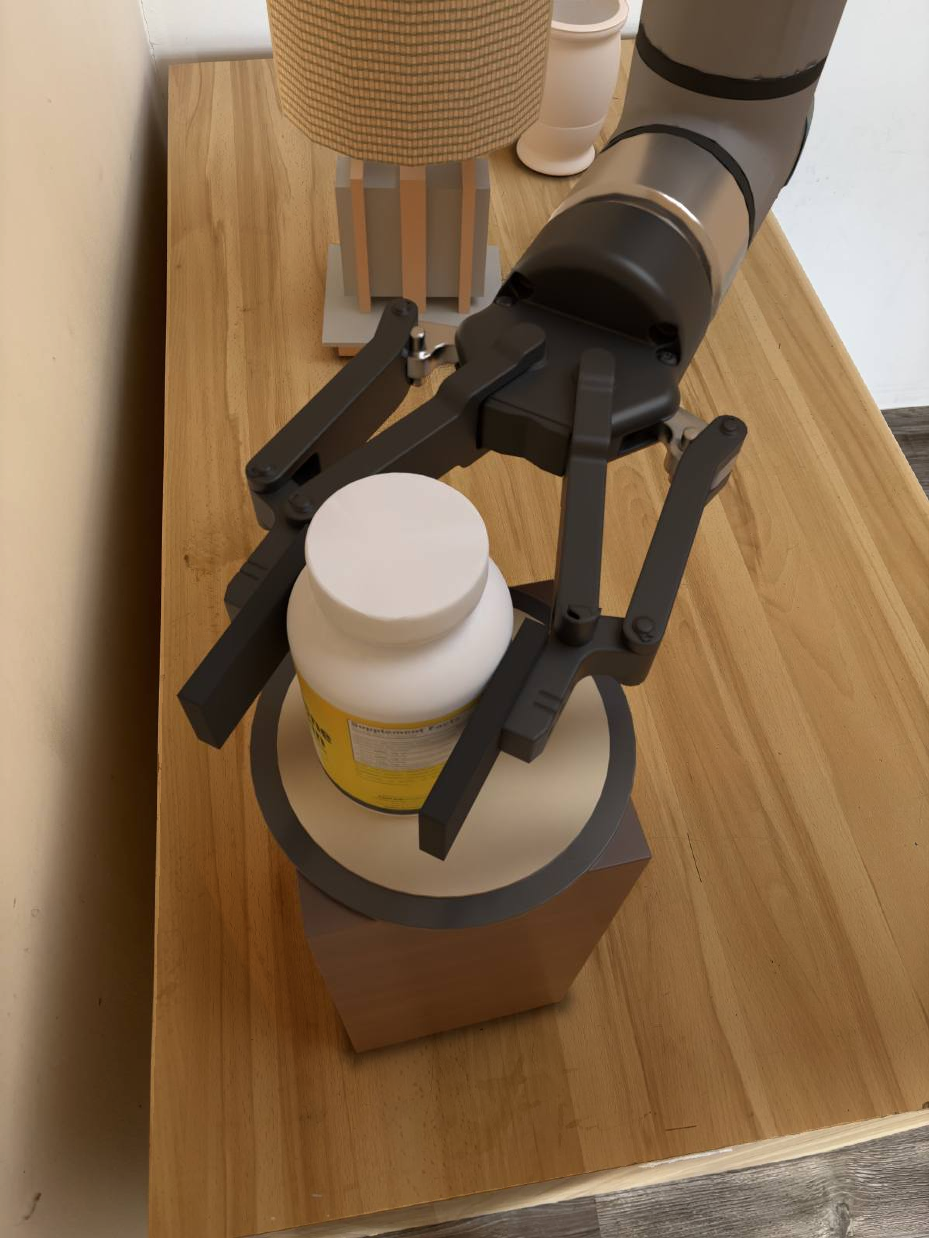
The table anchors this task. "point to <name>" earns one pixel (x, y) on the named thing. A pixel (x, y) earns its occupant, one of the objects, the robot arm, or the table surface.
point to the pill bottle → (395, 634)
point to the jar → (575, 85)
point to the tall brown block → (457, 865)
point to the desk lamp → (410, 142)
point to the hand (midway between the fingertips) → (312, 778)
